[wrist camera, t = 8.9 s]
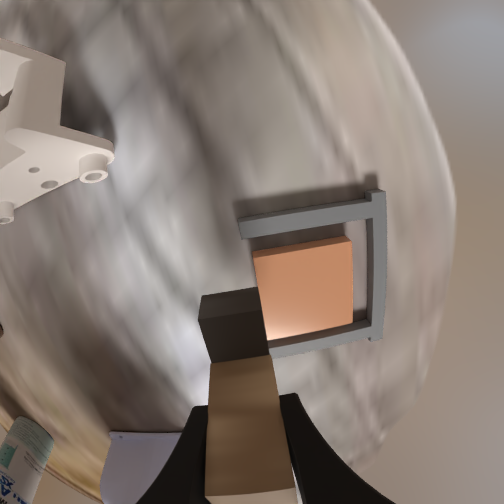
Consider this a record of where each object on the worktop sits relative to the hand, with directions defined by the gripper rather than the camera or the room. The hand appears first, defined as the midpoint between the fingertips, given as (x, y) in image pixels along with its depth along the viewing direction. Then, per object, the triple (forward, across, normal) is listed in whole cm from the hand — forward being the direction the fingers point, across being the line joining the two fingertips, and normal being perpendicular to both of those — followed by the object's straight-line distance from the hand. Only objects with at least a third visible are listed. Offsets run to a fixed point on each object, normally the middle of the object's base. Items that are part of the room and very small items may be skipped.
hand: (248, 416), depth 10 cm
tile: (+10, -4, 0) cm, 11 cm away
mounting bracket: (+10, +12, -14) cm, 21 cm away
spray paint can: (+10, +31, +17) cm, 37 cm away
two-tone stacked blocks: (+4, 0, 0) cm, 4 cm away
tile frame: (+10, -5, 0) cm, 11 cm away
